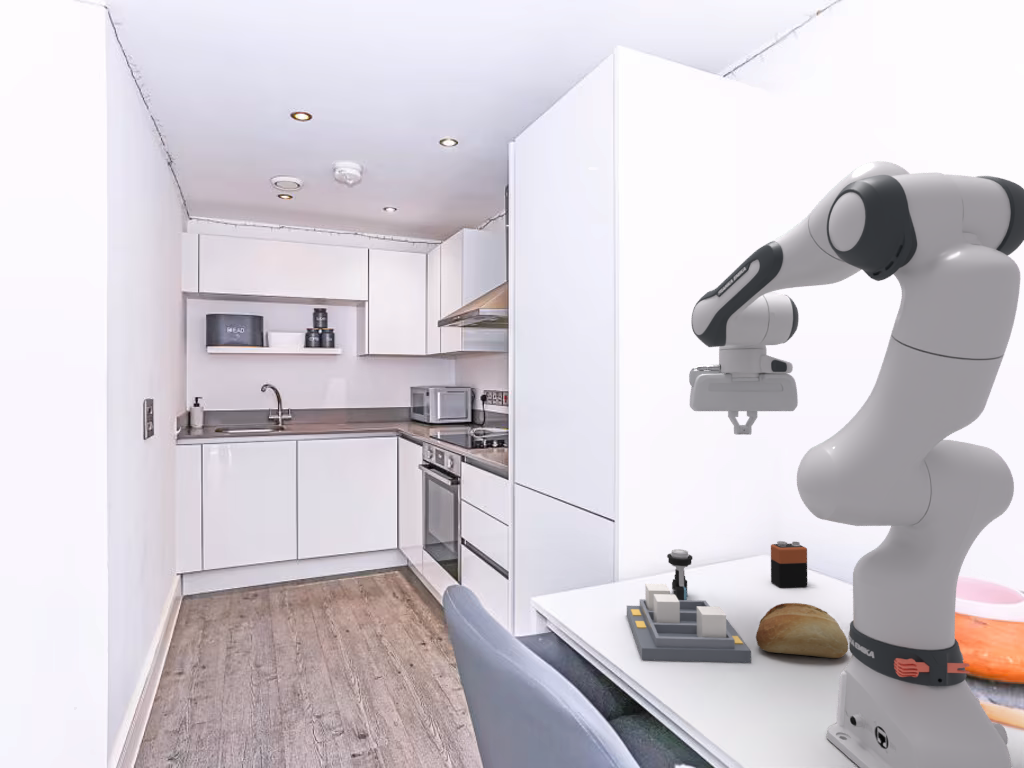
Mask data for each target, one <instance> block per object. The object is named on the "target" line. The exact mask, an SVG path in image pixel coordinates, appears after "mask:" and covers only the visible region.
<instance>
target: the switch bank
mask: <svg viewBox="0 0 1024 768" xmlns="http://www.w3.org/2000/svg"><path fill="white" fill-rule="evenodd" d="M679 602H680V623H654V611H649V610H647V608H646V598H645V599H642V598H641V599H639V605H626V617H627V621H628V623H629V626H630V629H631V633H632V635H633V638H634V642H635V644H636V646H637V647H636V648H637V650H638V653H639V656H640V658H641V661H656V662H657V661H662V662H663V661H664V662H665V661H666V662H670V661H671V662H701V663H702V662H703V663H704V662H708V663H709V662H710V663H744V664H745V663H748V664H749V663H750V664H751V663H752V650H751V648H750V647H749V646H748V645H747V643H746V642H745V641H744V640H743V638H742V637H741V636H740V634H739V633H738V632H737V631H736V629H735V627H734V626H733V625H732V624H731V622H730V621H729V620H728V619H727V618H726V638H714V637H698V636H697V606H710V604H709V603H708V601H707V600H699V599H698V600H694V599H693V600H691V599H687V600H679Z"/></svg>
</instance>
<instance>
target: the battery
mask: <svg viewBox="0 0 1024 768" xmlns="http://www.w3.org/2000/svg"><path fill="white" fill-rule="evenodd" d="M770 582H771V584H774V585H776V586H777V587H778V588H781V589H786V588H787V589H793V588H807V587H808V548H807V547H805V546H803V545H801V544H800V542H799V541H792V543H788V542H787V541H781V540H778V541H776V543H772V544H770Z"/></svg>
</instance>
